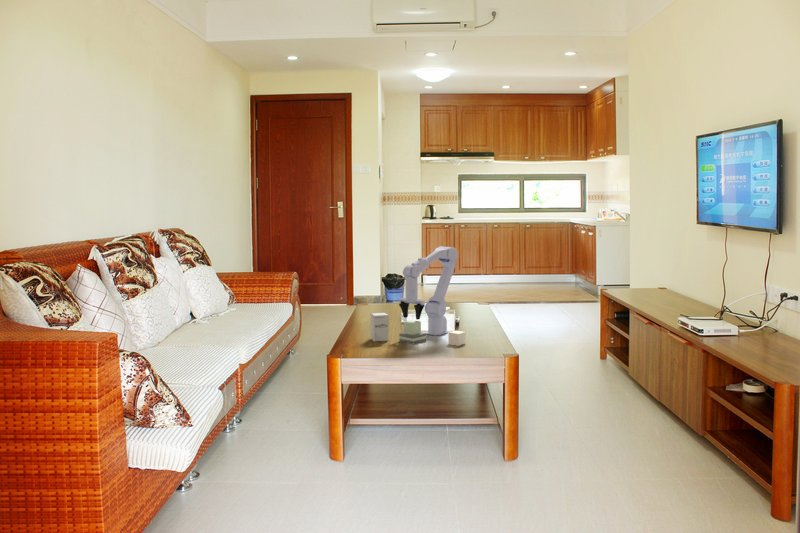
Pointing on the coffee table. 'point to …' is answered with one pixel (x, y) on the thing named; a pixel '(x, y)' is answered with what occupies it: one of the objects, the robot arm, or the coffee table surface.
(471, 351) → the coffee table surface
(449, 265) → the robot arm
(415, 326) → the sage block
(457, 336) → the cream block
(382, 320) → the supplement box
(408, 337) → the grey striped square box
